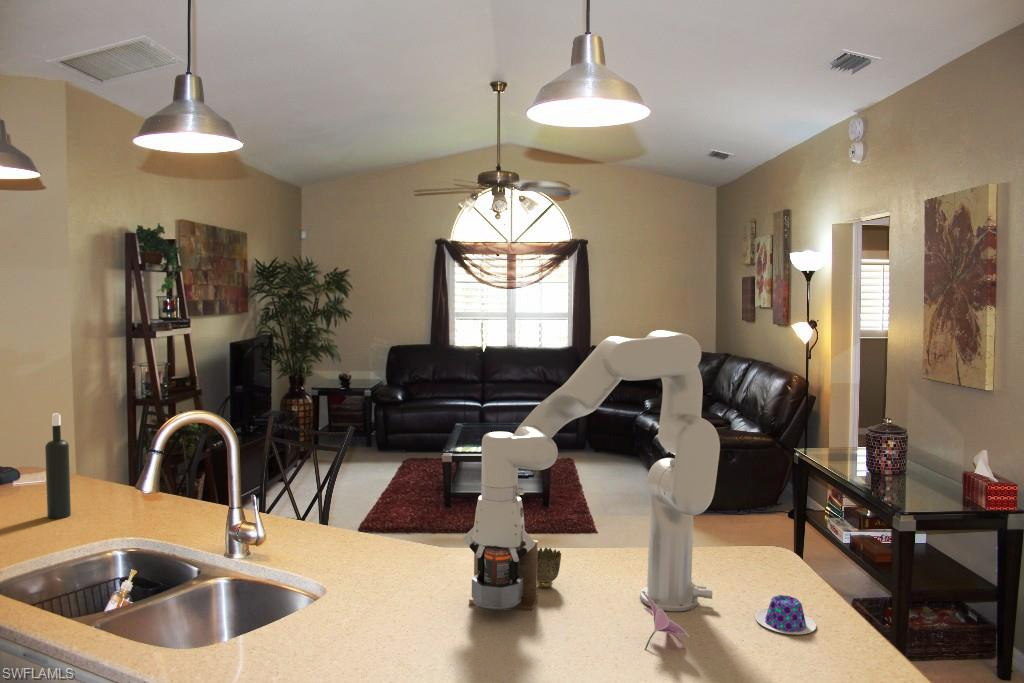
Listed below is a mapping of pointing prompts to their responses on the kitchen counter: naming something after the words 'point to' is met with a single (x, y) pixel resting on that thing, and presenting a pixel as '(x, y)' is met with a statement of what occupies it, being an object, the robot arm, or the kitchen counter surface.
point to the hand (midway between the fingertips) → (498, 575)
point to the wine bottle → (57, 473)
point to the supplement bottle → (497, 566)
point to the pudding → (785, 616)
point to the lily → (664, 622)
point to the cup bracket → (509, 587)
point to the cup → (547, 567)
